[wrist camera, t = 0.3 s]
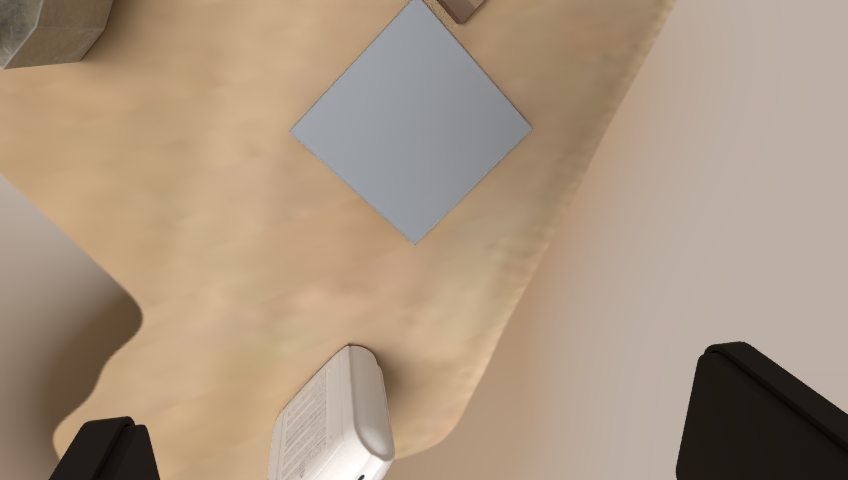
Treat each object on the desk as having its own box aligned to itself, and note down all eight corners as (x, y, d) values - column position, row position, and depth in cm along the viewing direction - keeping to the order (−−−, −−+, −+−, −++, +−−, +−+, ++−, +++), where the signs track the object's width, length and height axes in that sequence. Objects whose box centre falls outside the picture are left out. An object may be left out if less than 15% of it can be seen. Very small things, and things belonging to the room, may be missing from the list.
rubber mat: (415, -5, 34) (417, -6, 33) (530, 127, 38) (532, 128, 38) (289, 130, 35) (289, 132, 35) (413, 242, 40) (414, 244, 39)
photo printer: (308, 445, 45) (303, 584, 33) (266, 422, 43) (246, 559, 32) (388, 361, 43) (412, 477, 32) (348, 334, 42) (358, 445, 30)
